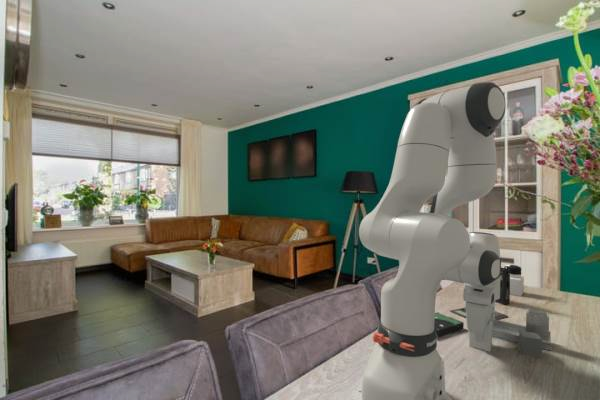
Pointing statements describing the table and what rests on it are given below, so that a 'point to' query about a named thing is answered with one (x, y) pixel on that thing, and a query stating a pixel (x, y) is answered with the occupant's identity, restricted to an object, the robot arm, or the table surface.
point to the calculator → (462, 313)
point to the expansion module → (486, 339)
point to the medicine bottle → (516, 280)
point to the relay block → (530, 344)
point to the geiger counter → (504, 286)
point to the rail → (523, 327)
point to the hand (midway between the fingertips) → (480, 337)
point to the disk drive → (446, 324)
